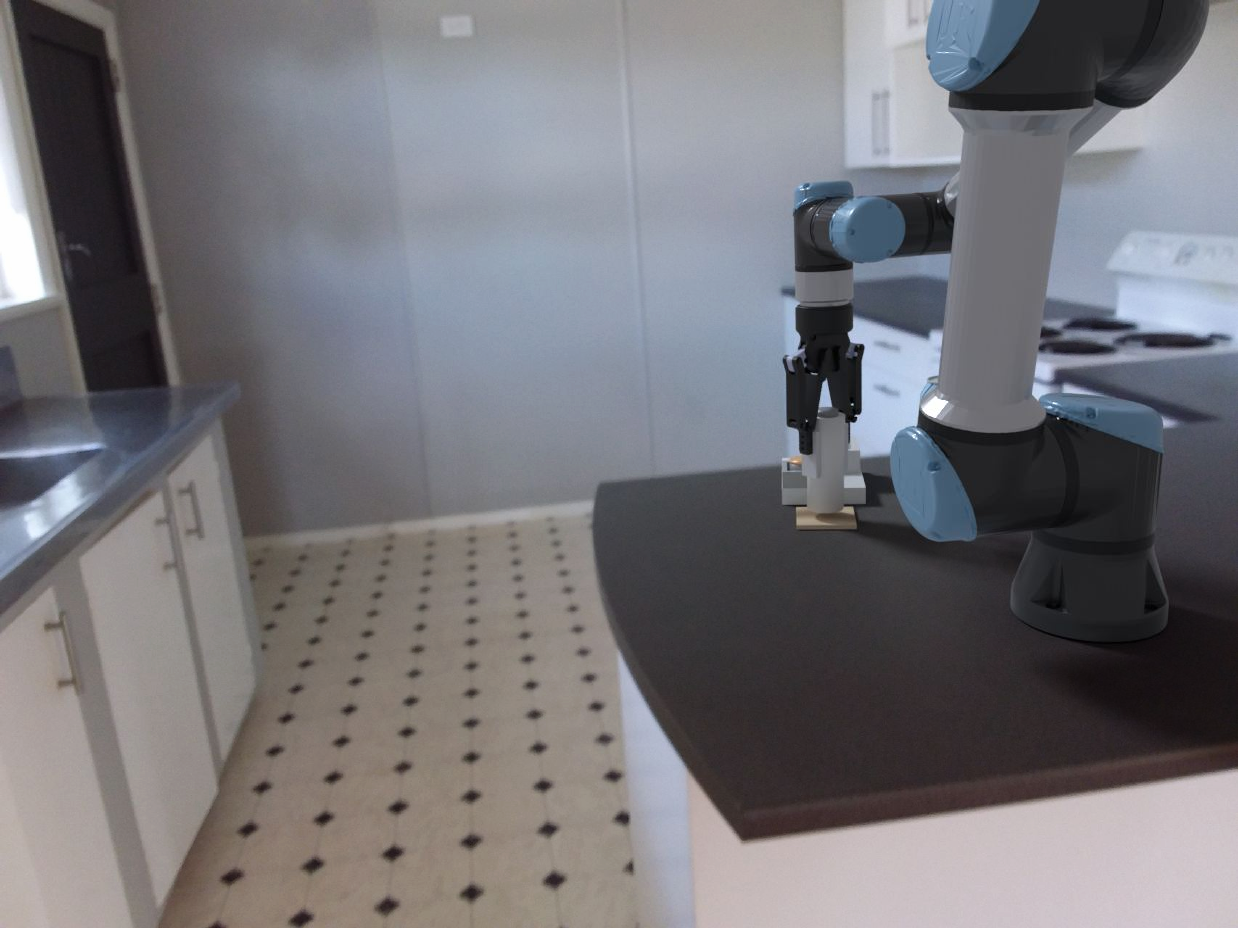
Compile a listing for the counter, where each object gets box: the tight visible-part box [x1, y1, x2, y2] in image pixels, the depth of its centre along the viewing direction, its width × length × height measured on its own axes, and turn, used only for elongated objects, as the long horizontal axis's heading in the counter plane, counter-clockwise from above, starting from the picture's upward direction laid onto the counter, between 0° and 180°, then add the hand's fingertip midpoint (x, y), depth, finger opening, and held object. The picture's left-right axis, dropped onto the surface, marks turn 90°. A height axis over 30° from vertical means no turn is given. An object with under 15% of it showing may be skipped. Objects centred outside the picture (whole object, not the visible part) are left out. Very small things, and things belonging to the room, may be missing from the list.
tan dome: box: [789, 455, 802, 471], centre depth 150 cm, size 4×4×3 cm
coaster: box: [795, 506, 858, 531], centre depth 140 cm, size 8×8×1 cm
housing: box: [781, 436, 867, 506], centre depth 154 cm, size 17×12×6 cm
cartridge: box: [806, 406, 845, 513], centre depth 138 cm, size 5×5×14 cm
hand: (825, 471), depth 139 cm, fingers closed on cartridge, 5 cm apart
